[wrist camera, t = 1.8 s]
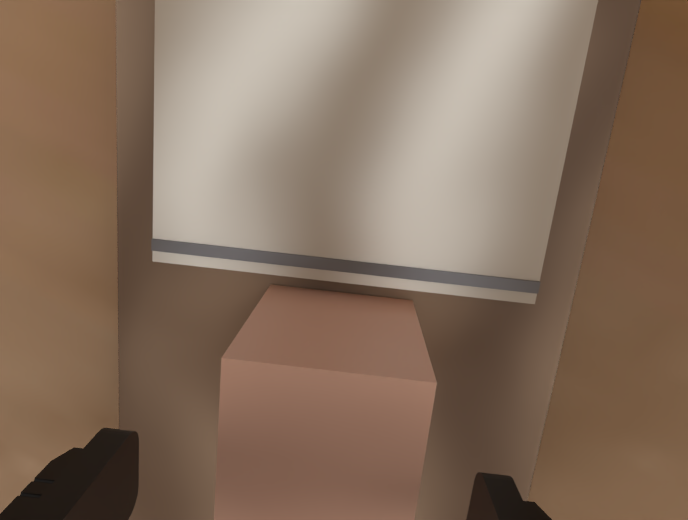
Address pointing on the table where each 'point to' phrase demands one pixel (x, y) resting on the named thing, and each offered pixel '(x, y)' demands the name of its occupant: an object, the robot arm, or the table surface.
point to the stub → (324, 409)
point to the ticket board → (357, 205)
